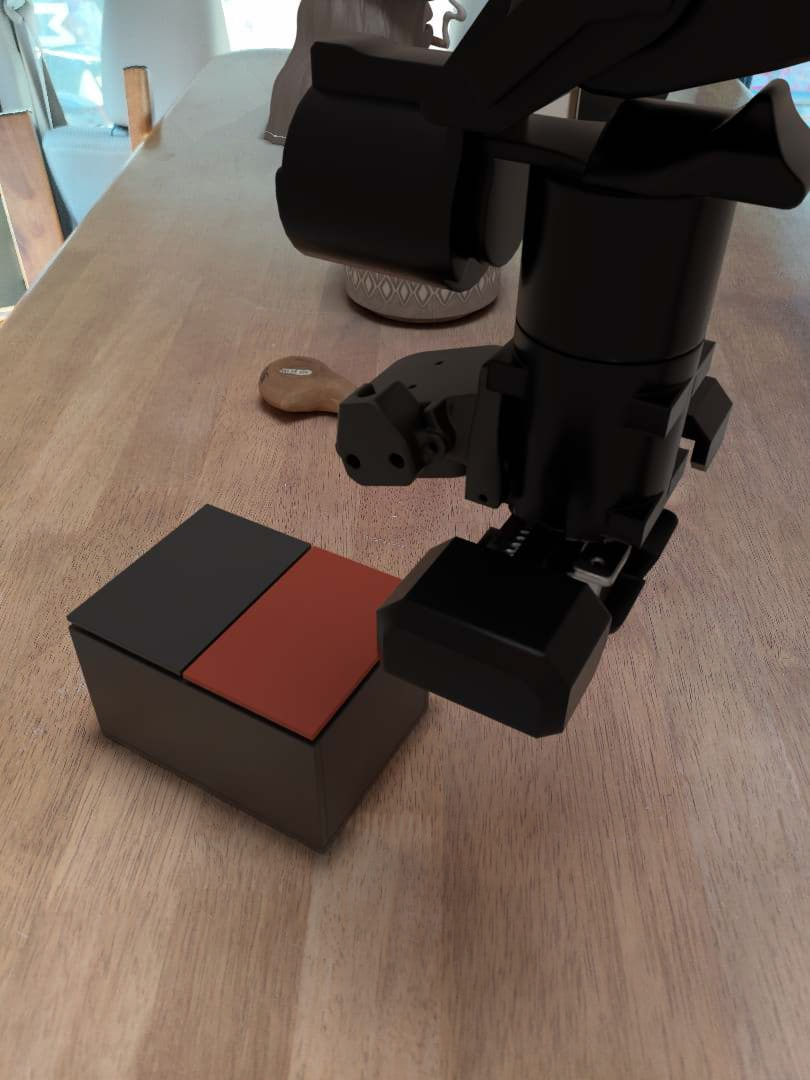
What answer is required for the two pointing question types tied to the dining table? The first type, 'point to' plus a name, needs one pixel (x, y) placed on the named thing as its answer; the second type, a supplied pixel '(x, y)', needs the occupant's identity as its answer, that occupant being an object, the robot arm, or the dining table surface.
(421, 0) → the bust
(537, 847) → the dining table surface
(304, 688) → the lid
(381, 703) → the black flip box
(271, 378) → the oil lamp
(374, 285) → the planter
